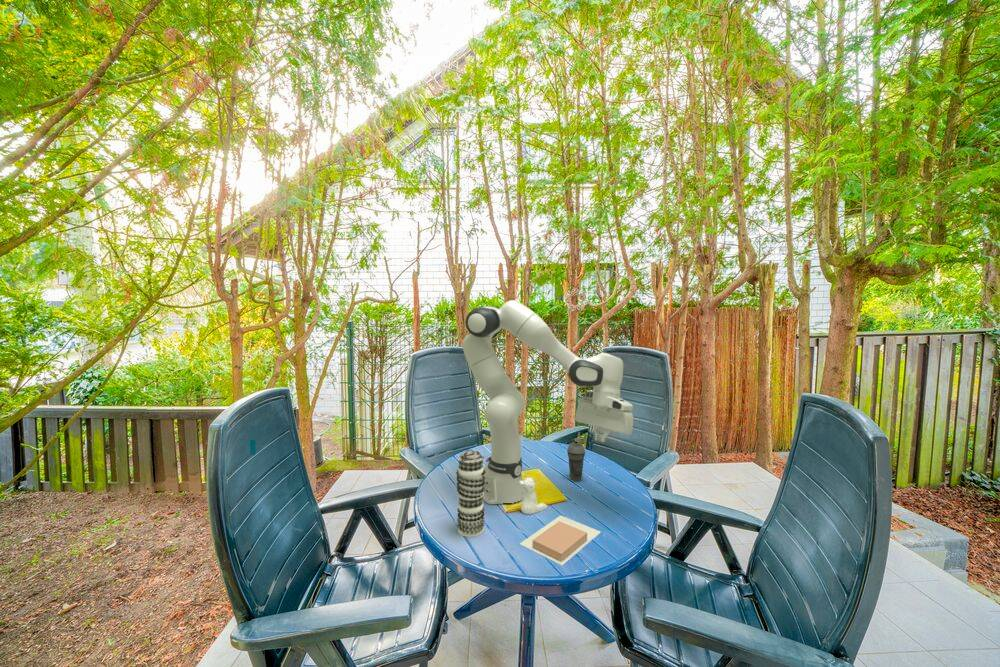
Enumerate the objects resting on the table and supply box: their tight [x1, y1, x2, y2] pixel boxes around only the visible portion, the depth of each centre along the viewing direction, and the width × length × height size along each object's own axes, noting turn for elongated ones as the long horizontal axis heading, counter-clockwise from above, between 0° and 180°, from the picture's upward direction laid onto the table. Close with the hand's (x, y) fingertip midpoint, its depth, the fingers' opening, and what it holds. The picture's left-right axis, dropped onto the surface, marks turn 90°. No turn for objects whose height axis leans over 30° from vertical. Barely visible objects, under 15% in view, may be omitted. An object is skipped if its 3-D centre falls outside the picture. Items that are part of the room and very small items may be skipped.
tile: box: [533, 521, 587, 561], centre depth 120 cm, size 10×2×14 cm
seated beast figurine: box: [519, 477, 548, 515], centre depth 140 cm, size 10×9×12 cm
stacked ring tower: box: [455, 449, 486, 538], centre depth 128 cm, size 9×9×25 cm
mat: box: [519, 515, 602, 566], centre depth 123 cm, size 15×22×1 cm
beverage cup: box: [566, 431, 586, 482], centre depth 166 cm, size 7×7×20 cm
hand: (599, 441), depth 137 cm, fingers closed
